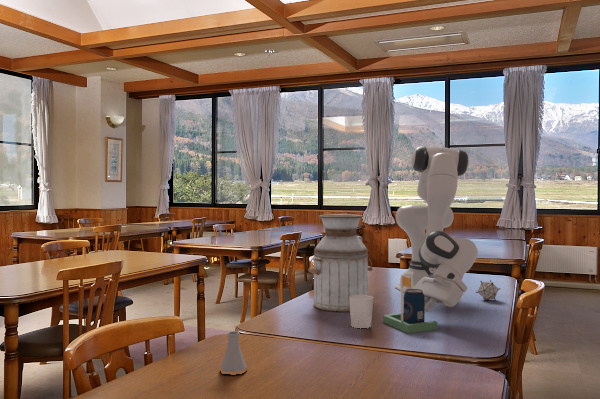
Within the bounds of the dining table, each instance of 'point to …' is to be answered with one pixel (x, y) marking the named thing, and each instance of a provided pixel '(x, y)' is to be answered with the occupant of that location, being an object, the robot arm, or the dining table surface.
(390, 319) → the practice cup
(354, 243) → the milk can
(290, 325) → the dining table surface
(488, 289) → the game die
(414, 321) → the soda can
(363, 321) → the white cup
